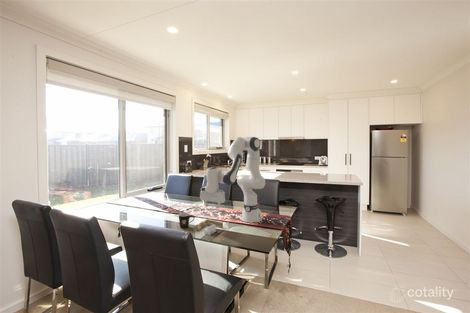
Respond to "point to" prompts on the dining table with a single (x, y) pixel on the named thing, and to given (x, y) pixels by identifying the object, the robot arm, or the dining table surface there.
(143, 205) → the dining table surface
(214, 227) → the bracket
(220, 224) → the corner walls
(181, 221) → the coffee mug
